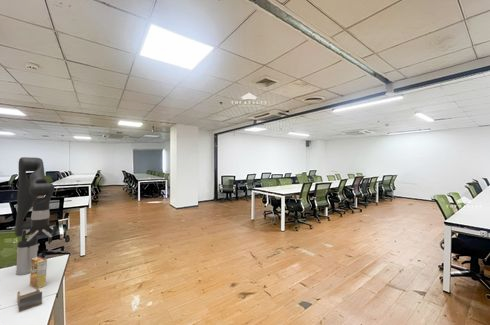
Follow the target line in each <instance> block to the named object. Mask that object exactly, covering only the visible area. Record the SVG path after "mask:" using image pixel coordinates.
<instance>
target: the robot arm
mask: <svg viewBox="0 0 490 325" xmlns="http://www.w3.org/2000/svg"><path fill="white" fill-rule="evenodd" d="M44 166H45V165H44V162H43V159H42V158H41V157H30V156H28V157H27V156H24V157H20V158H19V160H18V188H17V195H16V196H17V199H16V201H17V202H16V203H17V204H16V206H17V208H16V210H17V211H16V219H15V225H14V234H15V237H17V238H18V237H21V240H20V241H18V242H17V248H16V250H17V252H16V270H15V272H16V273H15V274H16V275H18V276H21V275H22V276H23V275H28V274H31V259H33V258H37V257H38V241H39V236H44V235H46V236H48V237H47V239H48V240H47V243H48V244H49V245H50V244H51V243H52V242H53V237H55V236H57V226H56V224H53V225H50V214H51V213H50V204H51V198H52V196H53V194H54V191H55V185H54V183H50V182H48V180H47V177H46V175H45V167H44ZM27 172H32V173H31V174H30V175H29V176H28V175H27ZM39 196H43V197H42V198H39V199H38V197H39ZM31 209H32V211H31ZM30 211H31V217H30V220H25V221H24V219H25V217H26V215H28V213H29V212H30ZM50 229H51V230H52V233H50V232H49V230H50ZM26 236H27V237H26Z"/></svg>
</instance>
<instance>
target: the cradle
mask: <svg viewBox="0 0 490 325" xmlns="http://www.w3.org/2000/svg"><path fill="white" fill-rule="evenodd" d="M16 293H17V295H16V296H17V298H16V299H17V308H18V313H20V312H23V311H26V310H29V309H32V308H34V307H37V306H40V305H42V302H43V301H42V300H43V291H41V290H40V288H39V286H37V287H36V288H35V291H33V292H29V293H25V294H23V295H21V293H20V291H17V292H16Z"/></svg>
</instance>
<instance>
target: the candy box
mask: <svg viewBox="0 0 490 325" xmlns="http://www.w3.org/2000/svg"><path fill="white" fill-rule="evenodd" d="M47 263H48V259H47V258H44V257H42V256H37V258H33V259H31V273H29V274H30V275H29V285H30V286H31V287H32V288H34V289H36V287H37V286H39V289H40V288H43V287H45V286H46V280H47V266H48V264H47Z"/></svg>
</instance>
